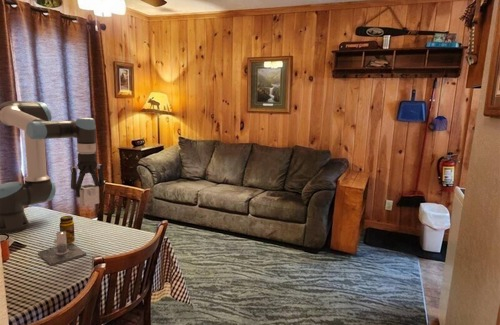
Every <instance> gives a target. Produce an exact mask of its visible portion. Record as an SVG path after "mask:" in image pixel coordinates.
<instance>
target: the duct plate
mask: <svg viewBox="0 0 500 325" xmlns="http://www.w3.org/2000/svg"><path fill="white" fill-rule="evenodd" d="M55 234H56V235H55V236H56V239H57V246H56V247H51V248H47V249H44V250H38V252H37V255H39V256H40V258H42V259H43V260H44V261H45V262H46V263H47V264H48V265H49V266H51V267H52V266H54V265H59V264H61V263H66V262H69V261H71V260H74V259H78V258H82V257H85V256H87V253H86V252H85V251H84V250H83V249H81V248H80V247H78V245H76V244H75V243H70V244H67V243H66V232H65V231H61V232H60V231H58V232H56V233H55Z"/></svg>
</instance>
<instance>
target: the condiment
mask: <svg viewBox="0 0 500 325" xmlns="http://www.w3.org/2000/svg"><path fill="white" fill-rule="evenodd" d="M59 219H60V220H59V232H61V231H65V232H66V243H67V244H70V243H73V244H75V243H77V241H76V237H75V234H76V233H75V222H74V217H73V216H71V215H64V216H61V217H59ZM54 243H55V246H56V247H57V238H56V239H54Z"/></svg>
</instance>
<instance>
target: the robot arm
mask: <svg viewBox="0 0 500 325" xmlns="http://www.w3.org/2000/svg"><path fill="white" fill-rule="evenodd" d="M0 123H1V124H3V125H6V126H8V127H9V126H14V127H15V128H18V129H19V130H22V131H23V132H24V140H25V143H24V144H25V157H26V169H27V170H26V171H27V176H26V177H25V178H24V183H23V182H21V181H9V182H4V183H1V184H0V234H1V235H2V234H4V235H5V234H13V233H17V232H21V231H24V230H26V229H28V228H29V227H30V222H29V221H30V220H29V219H28V217H27V215H26V214H25V207H26V206H31V205H36V204H43V203H46V202H50V201H52V200H53V199H54V197H55V195H56V190H57V187H56V183H55V182H54V180H52V179H51V177H50V176H49V175H48V173H47V172H48V171H47V160H46V145H45V144H46V141H45V140H50V139H69V138H70V139H71V138H75V139H76V148H77V149H76V150H77V151H76V152H77V165H76V166H75V165H74V166H70V171H71V175H70V176H71V179H70V189H71V190H74V191H75V197H76V198H77V204H78V205H81V206H83V205H82V190H80V188H81V185H83V181H84V178H85V176H86V175H87V174H90V176H91V178H92V181H93V184H94V185H96V186H99V195H100V194H101V188H102V186H104V185H105V179H104V170H103V168H104V165H103V164H102V163H101V164H100V163H98V162H97V153H96V152H97V143H96V142H97V140H96V138H97V136H96V132H97V131H96V130H97V129H96V128H97V127H96V121H95V118H93V117H77V118H76V120H72V119H70V120H52V112H51V109H50V108H49V106H48V105H47V104H46V103H44V102H42V101H32V100H31V101H28V100H27V101H25V100H9V101H8V100H7V101H5V102H2V103H1V104H0ZM96 168H97V172H96ZM78 170H79V173H78ZM78 174H79V175H78ZM77 175H78V176H77ZM77 177H78V178H77Z"/></svg>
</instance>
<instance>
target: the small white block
mask: <svg viewBox="0 0 500 325" xmlns="http://www.w3.org/2000/svg"><path fill="white" fill-rule="evenodd" d="M80 190H82V205H81V206H83V207H87V206H93V205H97V204H100V194H99V186H96V185H95V183H89V184H82V185H81V188H80Z"/></svg>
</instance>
